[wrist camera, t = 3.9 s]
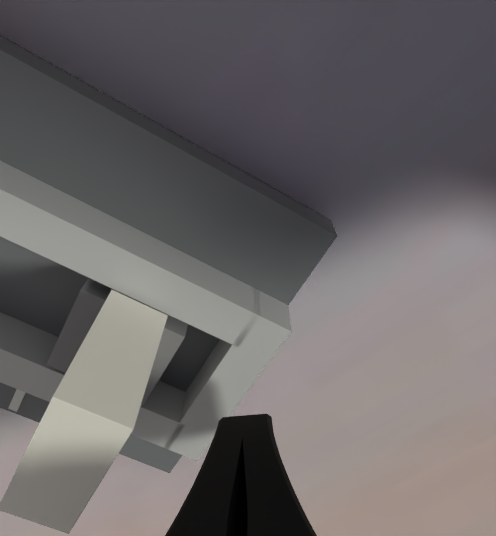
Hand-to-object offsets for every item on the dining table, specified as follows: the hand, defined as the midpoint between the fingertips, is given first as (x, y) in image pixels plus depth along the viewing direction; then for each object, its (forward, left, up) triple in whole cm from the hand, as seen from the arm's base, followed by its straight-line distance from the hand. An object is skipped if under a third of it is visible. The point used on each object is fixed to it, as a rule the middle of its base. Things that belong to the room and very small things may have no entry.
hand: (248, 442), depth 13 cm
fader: (+4, 0, -3) cm, 5 cm away
